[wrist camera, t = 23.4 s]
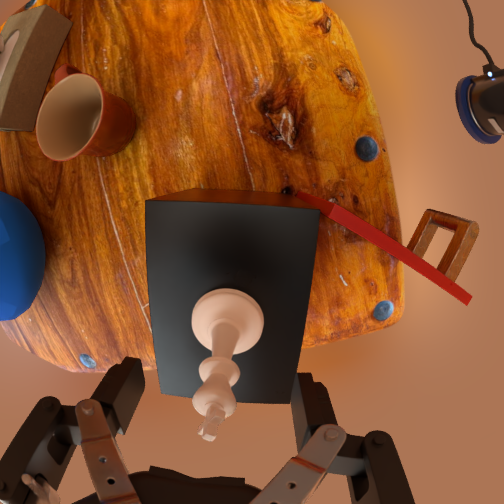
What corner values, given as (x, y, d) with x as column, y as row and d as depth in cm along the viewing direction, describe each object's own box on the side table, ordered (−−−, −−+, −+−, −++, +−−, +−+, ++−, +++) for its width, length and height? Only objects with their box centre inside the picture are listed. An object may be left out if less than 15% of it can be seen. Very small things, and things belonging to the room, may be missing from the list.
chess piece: (277, 311, 19) (296, 427, 9) (239, 360, 20) (232, 475, 10) (214, 274, 18) (176, 376, 8) (180, 328, 19) (135, 437, 10)
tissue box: (33, 133, 29) (-47, 130, 13) (0, 130, 28) (-69, 129, 13) (74, 21, 24) (15, -19, 9) (36, 28, 23) (-20, 1, 8)
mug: (155, 140, 30) (116, 128, 20) (98, 174, 31) (47, 178, 21) (125, 64, 27) (86, 35, 17) (73, 100, 28) (25, 86, 18)
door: (321, 146, 30) (373, 126, 16) (422, 213, 32) (500, 240, 17) (294, 198, 31) (328, 217, 17) (398, 259, 33) (467, 306, 19)
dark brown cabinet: (290, 193, 31) (320, 209, 17) (277, 320, 36) (290, 404, 21) (193, 188, 31) (144, 200, 17) (192, 315, 35) (160, 393, 21)
